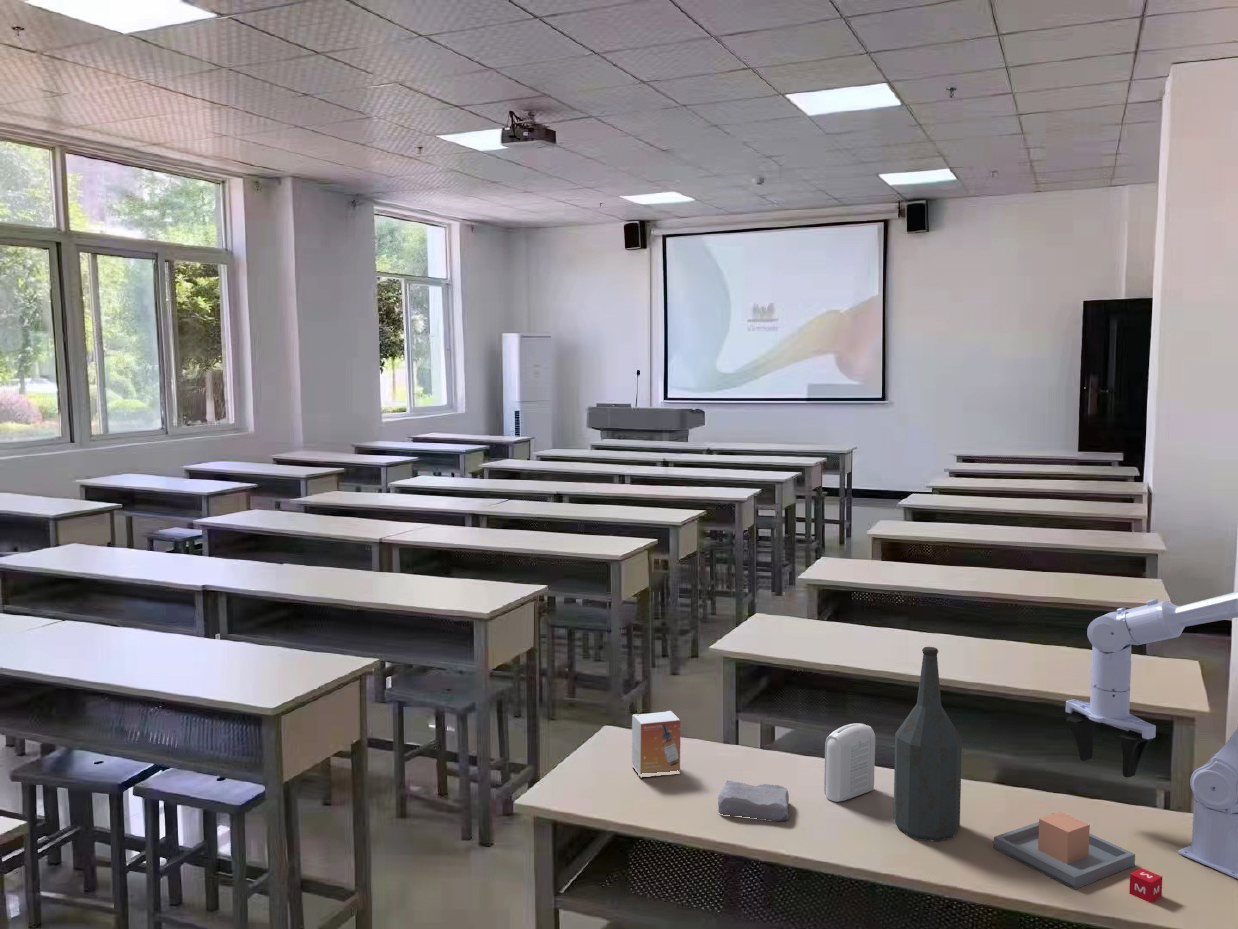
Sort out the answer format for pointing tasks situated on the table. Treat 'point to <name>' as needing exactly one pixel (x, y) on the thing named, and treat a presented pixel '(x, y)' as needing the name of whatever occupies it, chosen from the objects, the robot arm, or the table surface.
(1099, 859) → the tray
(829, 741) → the photo printer
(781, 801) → the stone block
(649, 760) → the small box
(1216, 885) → the table surface
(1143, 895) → the red letter cube
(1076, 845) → the wooden cube
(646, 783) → the table surface
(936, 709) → the bottle
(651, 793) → the table surface
